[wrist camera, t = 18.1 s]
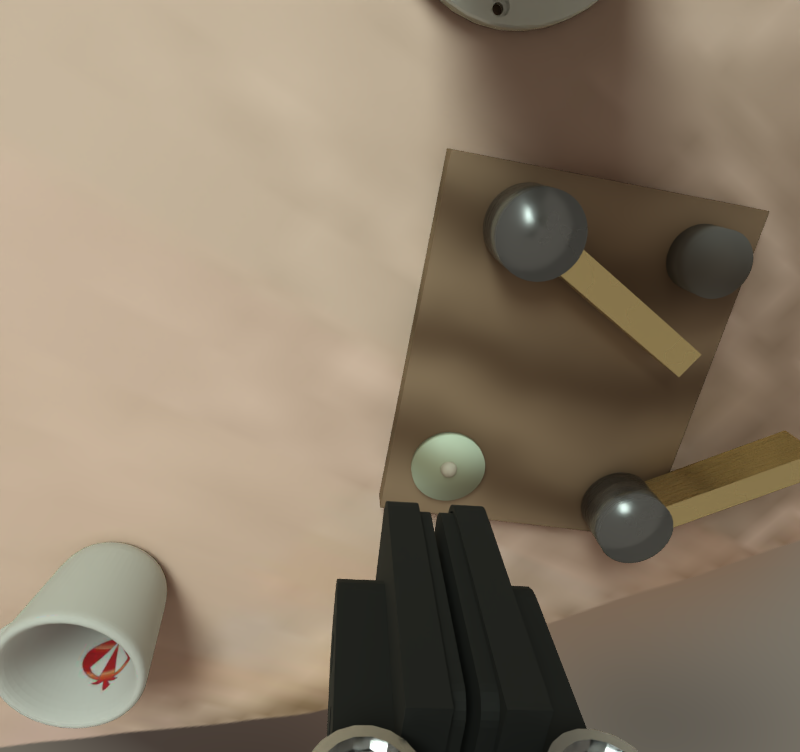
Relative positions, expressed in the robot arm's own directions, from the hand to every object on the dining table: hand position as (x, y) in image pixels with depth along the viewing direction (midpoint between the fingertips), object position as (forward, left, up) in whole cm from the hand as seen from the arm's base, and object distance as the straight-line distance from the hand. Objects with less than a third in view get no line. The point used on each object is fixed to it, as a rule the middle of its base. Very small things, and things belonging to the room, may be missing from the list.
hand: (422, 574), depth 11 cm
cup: (+23, -14, -25) cm, 37 cm away
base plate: (+4, +11, -25) cm, 28 cm away
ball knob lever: (-2, +11, -23) cm, 26 cm away
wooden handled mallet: (+9, +21, -23) cm, 33 cm away
